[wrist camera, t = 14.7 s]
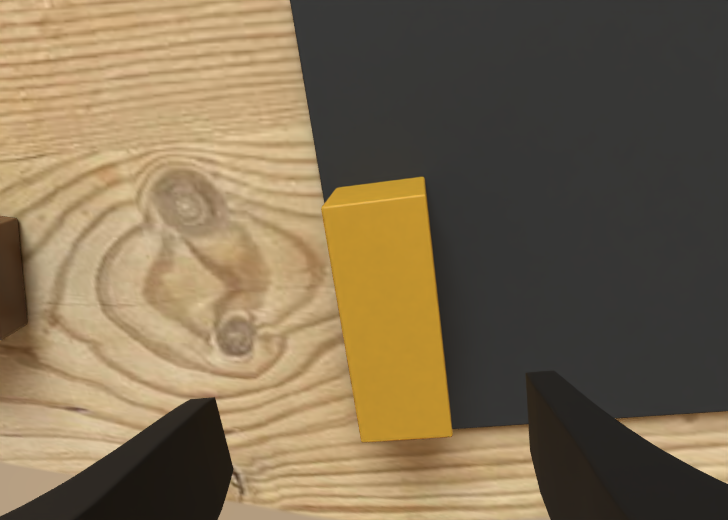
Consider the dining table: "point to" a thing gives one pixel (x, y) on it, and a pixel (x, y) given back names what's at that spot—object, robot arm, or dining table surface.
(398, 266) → the bar
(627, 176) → the mat
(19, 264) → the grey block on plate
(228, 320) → the dining table surface
